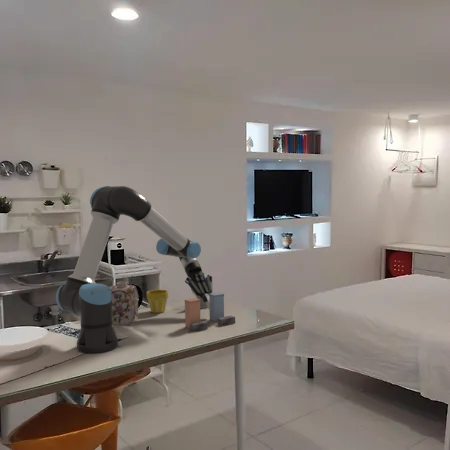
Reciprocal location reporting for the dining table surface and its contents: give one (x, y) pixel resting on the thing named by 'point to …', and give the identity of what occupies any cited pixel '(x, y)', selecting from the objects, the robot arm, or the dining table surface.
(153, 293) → the plant pot
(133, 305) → the decorative jar
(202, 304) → the grey metal pitcher
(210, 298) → the light blue tall block
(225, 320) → the dark grey block pair
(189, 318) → the salmon pink lidded box
